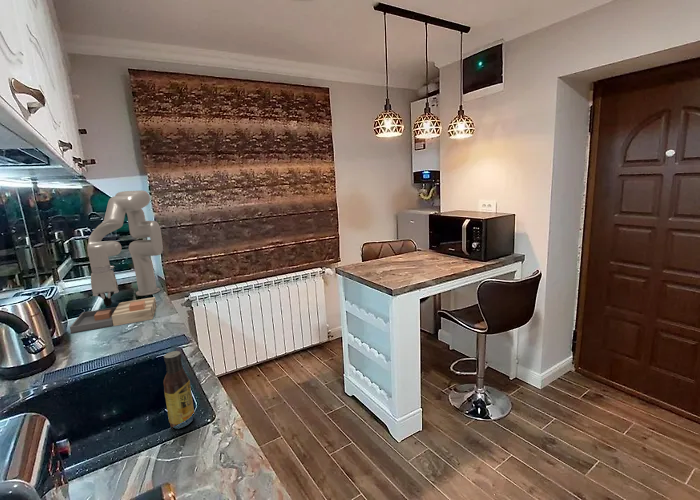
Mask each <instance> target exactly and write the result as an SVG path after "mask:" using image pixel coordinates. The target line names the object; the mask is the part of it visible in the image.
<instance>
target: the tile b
mask: <svg viewBox="0 0 700 500" xmlns="http://www.w3.org/2000/svg"><path fill="white" fill-rule="evenodd" d="M145 306H146V304H145V300H144V301H138V302H132V303H130V305H129V310H130V311H136V310H142V309H144V308H145Z"/></svg>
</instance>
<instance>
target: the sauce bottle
mask: <svg viewBox="0 0 700 500" xmlns="http://www.w3.org/2000/svg"><path fill="white" fill-rule="evenodd" d="M163 360H164V363H165V368H166V369H165V371H166V374H165V376H164V379H163V391H164V398H165V404H166V410H167V417H168V423H169V424H170V428H172V427H174V426H176V425H178V424H180V423H182V422H184V421H186V420H187V419H189V418H190V417H191V416H192V414H193V413H194V414H195V408H194V401H193V396H192V388H191V387H192V386H191V380H190V377H189V376H188V374H187V373H186V371H185V370H184V366H183V364H182V363H183V361H182V352H181V351H178V350H173V351H170V352H167V353H165V354H164V355H163ZM172 429H173V428H172Z"/></svg>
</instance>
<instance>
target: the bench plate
mask: <svg viewBox="0 0 700 500" xmlns="http://www.w3.org/2000/svg"><path fill="white" fill-rule="evenodd" d="M144 300H145V304H146V306H145V308H144V309H142V310H136V311H130V310H129V305H130V303H132V302H138V301H144ZM116 307H117V308H116V310H115V311H114V313H113V314H112V320H113V327H116V326H121V325H126V324H134V323H137V322H138V323H139V322H143V321H149V320H153V318H154V315H155V312H156V308H157V300H156V296H153V297H147V298H141V299H135V300H128V301H122V302H119V303H118V304H117V306H116Z"/></svg>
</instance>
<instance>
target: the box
mask: <svg viewBox="0 0 700 500" xmlns="http://www.w3.org/2000/svg"><path fill="white" fill-rule="evenodd" d="M116 308H117V306H115V307H108V308H101V309H96V310H89V311H85V312H83V311H82V312H81V314H80V315H79V316H77V318H76V319H75V321H73V323H72V324H71V325H70V326H69V331H70V334H77V333H83V332H87V331H93V330H98V329H103V328H111V327H114V325H113V320H112V315H111V317H110V318H108V319H102V320H97V321H95V318H94V315H95V314H96V312H99V311H105V310H111V311H112V314H113V313H114V311H115V310H116Z"/></svg>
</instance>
